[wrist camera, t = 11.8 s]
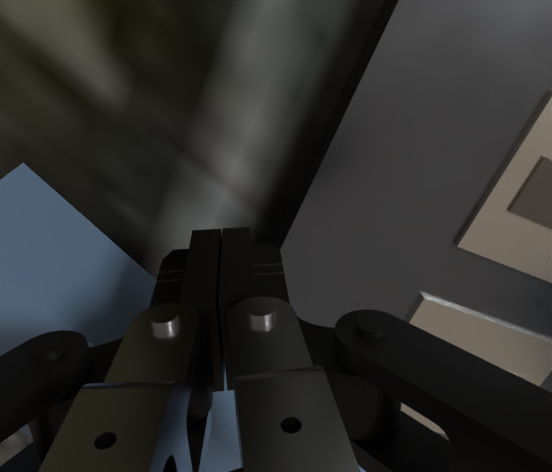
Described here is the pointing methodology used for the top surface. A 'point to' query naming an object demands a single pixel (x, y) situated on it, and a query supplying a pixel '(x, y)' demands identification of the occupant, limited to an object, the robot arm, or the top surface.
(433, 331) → the plate
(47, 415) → the robot arm
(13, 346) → the swing arm
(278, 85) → the top surface
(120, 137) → the top surface
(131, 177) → the top surface
